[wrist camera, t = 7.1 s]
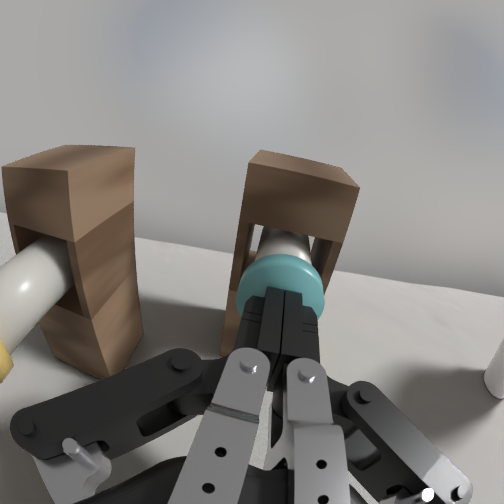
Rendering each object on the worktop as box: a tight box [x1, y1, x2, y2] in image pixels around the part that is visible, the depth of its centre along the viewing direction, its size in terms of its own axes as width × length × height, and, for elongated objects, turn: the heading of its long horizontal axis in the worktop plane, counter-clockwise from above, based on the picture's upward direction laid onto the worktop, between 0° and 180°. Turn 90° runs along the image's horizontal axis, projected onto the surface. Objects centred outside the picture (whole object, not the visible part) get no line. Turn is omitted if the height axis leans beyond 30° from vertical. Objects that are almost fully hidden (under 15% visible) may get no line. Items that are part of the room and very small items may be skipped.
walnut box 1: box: [2, 145, 143, 380], centre depth 13 cm, size 5×5×13 cm
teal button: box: [236, 226, 324, 320], centre depth 15 cm, size 4×7×4 cm, turn 172°
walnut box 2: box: [220, 150, 360, 357], centre depth 17 cm, size 5×5×13 cm
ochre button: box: [0, 234, 75, 384], centre depth 8 cm, size 4×7×4 cm, turn 172°
